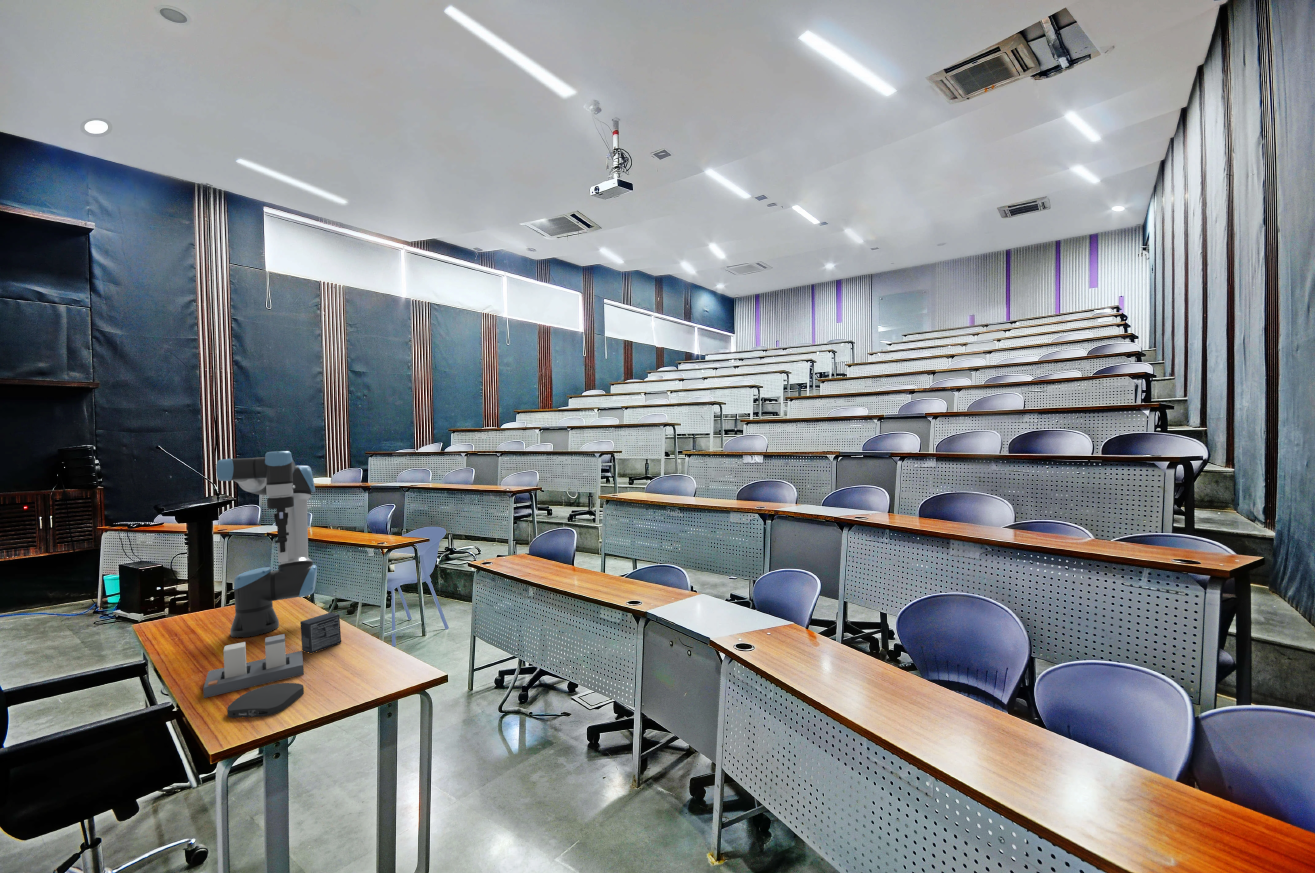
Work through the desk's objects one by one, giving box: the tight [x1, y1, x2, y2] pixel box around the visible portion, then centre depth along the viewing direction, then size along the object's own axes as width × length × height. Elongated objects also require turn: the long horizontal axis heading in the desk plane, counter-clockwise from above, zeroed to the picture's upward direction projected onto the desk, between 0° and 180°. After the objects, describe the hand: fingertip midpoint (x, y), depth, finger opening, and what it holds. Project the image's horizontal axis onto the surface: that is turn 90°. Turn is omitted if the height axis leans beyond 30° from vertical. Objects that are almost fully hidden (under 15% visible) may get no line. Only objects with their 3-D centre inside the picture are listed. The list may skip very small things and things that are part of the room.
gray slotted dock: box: [202, 641, 305, 699], centre depth 168 cm, size 14×24×11 cm, turn 125°
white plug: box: [264, 633, 287, 669], centre depth 171 cm, size 5×5×11 cm
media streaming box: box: [226, 682, 305, 719], centre depth 151 cm, size 15×15×3 cm
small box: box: [299, 612, 342, 654], centre depth 192 cm, size 11×6×10 cm, turn 149°
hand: (283, 558), depth 187 cm, fingers open, 13 cm apart
